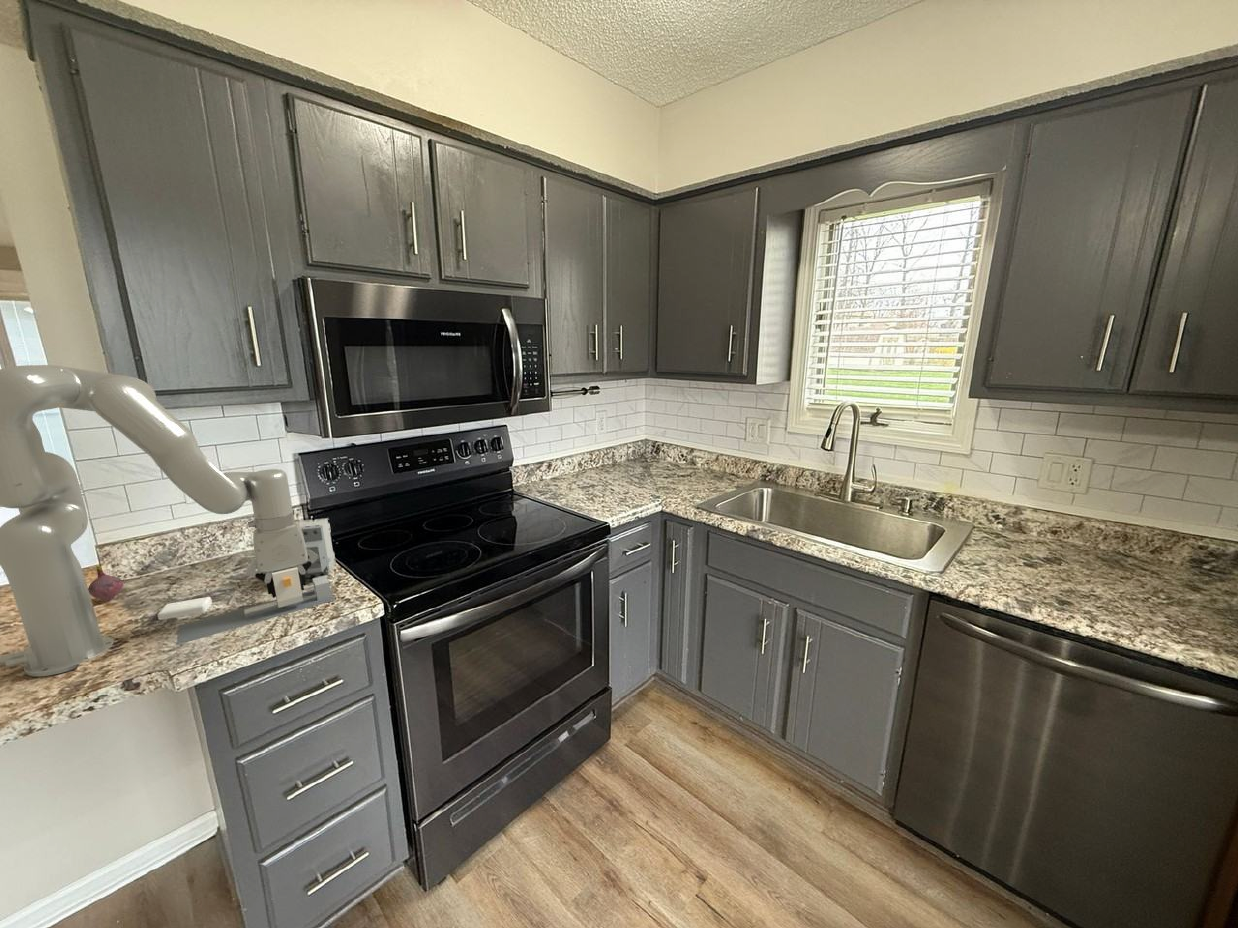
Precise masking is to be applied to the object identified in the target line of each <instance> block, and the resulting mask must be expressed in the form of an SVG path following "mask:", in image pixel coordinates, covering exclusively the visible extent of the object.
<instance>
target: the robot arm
mask: <svg viewBox="0 0 1238 928" xmlns="http://www.w3.org/2000/svg"><path fill="white" fill-rule="evenodd" d="M58 408H60V409H61V408H62V409H71V410H81V411H87V412H88V411H89V412H94V413H96V414H97V416H99V417H101V418H102V419H103V420H105V422H107V423H108V424H109V425H111V426H112V427H113V428H114V429H115V430H116V431H118V432H119V433H120V434H122V435H123V436H124V437H126V439H128V440H129V441H131V442H132V444H134V445H136V446H137V447H138V448H139V449H140V450H142V451H143V452H144V453H145V454H147V455H148V456H149V457H150V458H151V459H152V461H153V462H154V463H155V465H156V466H157V467H158V468H159V469H160V471H162V472H163V474H164V475H165V476H166V477H167V478H168V479H169V481H171V482H172V484H174V485H175V486H176V487H177V488H178V489H179V490H180V491H182V493H184V494H185V495H186V496H187V497H189V498H191V500H193V502H195V503H196V504H198V505H199V506H201V507H202V508H203V509H204V510H206V511H208V512H210V513H212V514H217V515H228V514H229V515H230V514H233V513H235V512H237V511H238V510H240V509H242V507H243V506H244V504H245V503H246V502H247V501H250V502H251V505H252V512H253V515H254V519H252V520H249V521H247V525H248V528H255V529H254V530H253V536H252V538H253V539H252V540H253V541H252V542H253V553H254V558H253V559H252V561H251V562H250V563H249V565H248V566H247V567H246V569H245V571H244V573H245V575H247V576H249V577H251V578H255V579H256V580H260V581H261V582H263V583H265V584H266V589H267V593H268V594H267V595H271V596H272V599H276V592H275V587H274V582H273V579H272V572H274V571H278V570H282V569H287V568H291V567H295V566H297V568H298V573H299V579H300V585H301V591H304V590H305V586H306V585H307V580H306V578H305V573H306V571H307V570H308V569H309V567H310V566H311V565H312V563H314V562H315V561H316V560H317V559H318V555H317V554H316V553H315V552H313V551H311V550H310V549H308V548H307V547H306V545H305V540H304V536H303V533H302V530H301V527H300V525H299V524H298V523H297V521H295V515H294V511H293V504H292V497H291V492H290V486H289V480H288V476H287V472H286V471H284V470H282V469H278V468H275V469H274V468H269V469H263V470H262V469H261V470H257V471H227V472H222V471H221V470H219V469H218V467H216V466H215V465H214V464H213V463H212V462H211V461H210V460H209V459H208V458H207V457H206V456H205V454H204V453H203V452H202V450H201V448H200V447H199V444H198V442H197V439H196V436H195V435H194V433H193V432H192V430H190V429H189V428H188V427H187V426H186V425H185V424H184V423H183V422H181V421H180V420H179V419H178V418H177V417H176V416H174V415H173V414H172V413H171V412H169V410H168V409H166V408H165V407H164V406H163V405H161V404H160V402H158V401H157V395H156V391H155V390H154V389H153V387H152V386H151V385H150V384H149V383H147V382H146V381H144V380H142V379H140V378H137V377H134V376H129V375H123V374H114V373H107V372H101V371H94V370H89V369H88V370H86V369H80V368H75V367H67V366H61V365H49V364H40V365H39V364H36V365H35V364H34V365H33V364H29V365H28V364H26V365H13V366H8V367H3V368H0V507H2V508H6V509H7V508H8V509H18V511H19V514H18V515H15V516H13V517H12V518H10V519H8V520H7V521H6V522H4V523H3V524H1V525H0V567H1V569H2V570H3V572H4V575H5V577H6V578H7V580H8V581H7V582H8V583H9V586H10V589H11V592H12V596H13V598H14V600H15V604H16V606H17V609H18V610H17V611H18V613H19V615H20V619H21V622H22V626H23V628H24V631H25V635H26V638H27V641H28V644H29V647H26V648H25V647H24V649H23V650H20V651H16V652H11V653H6V654H2V655H0V666H5V667H6V668H7V669H8V668H12V667H16V666H18V665H23V664H25V665H24V668H23V671H24V673H25V674H26V675H27V676H30V677H38V678H41V677H48V676H53V675H59V674H62V673H65V672H69V671H72V670H76V669H78V667H79V665H80V664H82V663H85V662H88V661H90V660H92V659H93V658H96V657H98V656H100V655H102V654H103V653H105V652H106V651H108V650H109V649H110V648H111V647H112V646H113V645H114V642H115V640H114V639H113V638H112V637H111V636H105V635H104V636H103V635H102V634H101V630H100V626H99V622H98V619H97V616H96V612H95V609H94V604H93V601H92V598H91V597H92V596H91V595H90V594H89V590H88V587H89V586H88V583H87V580H86V578H85V577H86V576H85V573H84V570H83V567H82V566H81V564H80V562H79V560H78V558H77V555H75V553H74V551H73V549H72V544H74V543H75V542H76V541H77V540H79V539H80V538H81V537H82V535H83V534H85V532H86V531H87V528H88V526H89V525H88V524H89V517H88V511H87V508H86V505H85V501H84V498H83V494H82V490H81V485H80V483H79V482H80V481H79V479H78V474H77V473H76V471H75V469H74V467H73V466H72V465H71V463H70V462H69V461H68V460H67V459H65V458H64V457H62V456H61V455H58V454H55V453H53V452H48V451H45V448H44V444H43V439H42V435H41V432H40V430H39V429H38V427H37V425H36V424H35V423H34V420H33V416H34V414H36V413H38V412H41V411H46V410H54V409H58ZM308 556H309V557H310V558H309V559H308ZM302 564H303V565H302ZM256 569H257V570H256Z"/></svg>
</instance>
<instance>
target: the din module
mask: <svg viewBox="0 0 1238 928" xmlns="http://www.w3.org/2000/svg"><path fill="white" fill-rule="evenodd" d="M271 577H272V579H273V582H274V587H275V592H276V597H275V600H276V599H277V603H278V607H279V608H280V607H284V606H287V605H291V604H295V603H298V602H302V601H303V597H302V592H303V590H301V585H300V579H299V573H298V568H297V566H295V567H291V568H287V569H282V570H278V571H274V572H272V576H271Z"/></svg>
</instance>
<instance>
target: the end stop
mask: <svg viewBox="0 0 1238 928" xmlns="http://www.w3.org/2000/svg"><path fill="white" fill-rule="evenodd" d="M312 585H313V590H314V591H315V592H316V595H317V600H321V599H325V598H329V597H332V596H331V591H332V590H330V589H331V585H330V581H329V579H328V577H327V575H323V576H322V575H321V576H317V577H314V578H312Z"/></svg>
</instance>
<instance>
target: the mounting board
mask: <svg viewBox="0 0 1238 928" xmlns="http://www.w3.org/2000/svg"><path fill="white" fill-rule="evenodd" d="M330 590H331V588H330ZM312 591H314V589H309V590H307V591H306V590H305V591H302V594H304V593H308V592H312ZM331 596H332V597H329V598H325V599H321V600H317V599H314V600H310V601H306V602H303V603H299V604H295V605H292V606H288V607H285V608H281V609H277V610H274V611H270V612H266V613H263V614H259V615H256V616H252V617H248V618H245V612H244V610H245V609H248V608H252V607H256V606H259V605H263V604H267V603H271V602H274V601H277V599H276V598H275V599H273V600H269V601H265V602H262V603H258V604H254V605H251V606H245V607H243V608H239V609H235V610H231V611H228V612H225V613H220V614H217V615H214V616H212V615H211V616H210V617H206V618H201V619H198V620H193V621H190V622H187V623H183V624H179V625H178V632H177V640H176V646H178V645H182V644H185V643H188V642H192V641H193V642H194V641H196V640H199V639H202V638H205V637H207V638H208V637H211V636H213V635H217V634H219V633H225V632H227V631H230V630H235V629H237V628H242V627H245V626H248V625H253V624H256V623H258V622H259V623H260V622H263V621H267V620H270V619H274V618H276V617H280V616H284V615H288V614H291V613H295V612H298V611H302V610H305V609H310V608H311V607H315V606H318V605H323V604H327V603H330V602H334V601H336V598H335V596H334V593H333V591H332V590H331Z"/></svg>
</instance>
